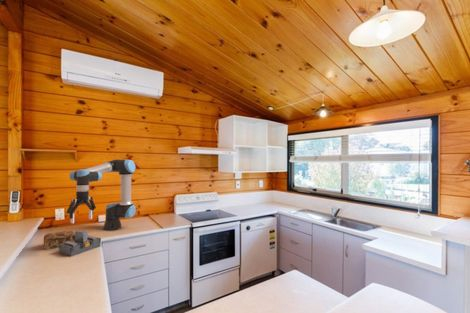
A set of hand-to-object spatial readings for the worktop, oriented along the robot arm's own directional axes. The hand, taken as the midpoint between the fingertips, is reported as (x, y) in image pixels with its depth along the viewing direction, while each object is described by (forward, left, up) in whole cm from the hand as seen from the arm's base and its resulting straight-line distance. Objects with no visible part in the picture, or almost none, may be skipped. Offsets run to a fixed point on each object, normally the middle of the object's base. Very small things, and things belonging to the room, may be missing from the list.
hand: (81, 220), depth 168 cm
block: (0, 0, -17) cm, 17 cm away
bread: (+2, -21, -21) cm, 30 cm away
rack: (0, 0, -20) cm, 20 cm away
